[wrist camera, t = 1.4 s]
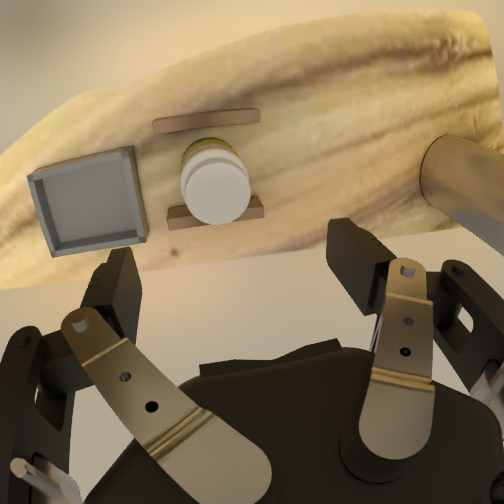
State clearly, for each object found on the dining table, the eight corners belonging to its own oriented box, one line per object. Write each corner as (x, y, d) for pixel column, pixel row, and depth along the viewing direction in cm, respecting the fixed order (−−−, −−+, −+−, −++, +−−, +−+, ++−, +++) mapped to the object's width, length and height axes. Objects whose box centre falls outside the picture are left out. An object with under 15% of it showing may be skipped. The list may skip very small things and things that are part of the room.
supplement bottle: (231, 193, 27) (249, 235, 20) (178, 187, 25) (174, 229, 18) (241, 140, 24) (264, 162, 17) (185, 133, 23) (182, 152, 16)
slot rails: (253, 108, 23) (259, 109, 21) (258, 206, 28) (264, 217, 26) (155, 119, 22) (152, 121, 20) (170, 218, 27) (168, 230, 25)
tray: (133, 145, 23) (128, 150, 21) (148, 231, 27) (146, 242, 25) (37, 169, 21) (26, 175, 20) (59, 246, 26) (52, 257, 24)
